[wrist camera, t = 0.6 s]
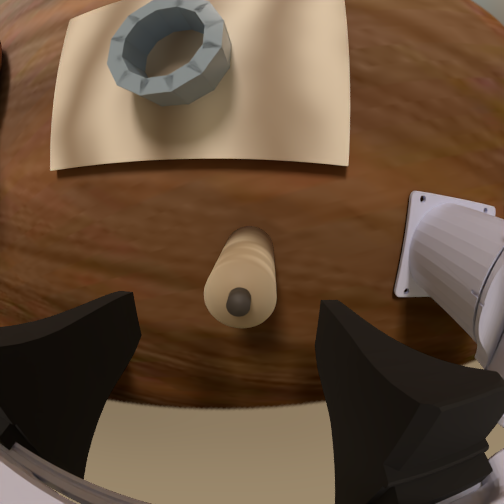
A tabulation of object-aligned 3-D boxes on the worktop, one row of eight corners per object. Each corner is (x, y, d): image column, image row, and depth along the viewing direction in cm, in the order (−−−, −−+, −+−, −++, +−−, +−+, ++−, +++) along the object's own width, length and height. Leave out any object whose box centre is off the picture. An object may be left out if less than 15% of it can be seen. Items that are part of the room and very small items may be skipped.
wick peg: (274, 227, 18) (279, 272, 11) (271, 272, 19) (274, 340, 12) (226, 225, 19) (198, 267, 11) (226, 270, 20) (201, 335, 12)
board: (340, -6, 13) (343, -11, 12) (344, 166, 17) (348, 166, 16) (74, 22, 14) (70, 19, 13) (56, 170, 18) (50, 170, 17)
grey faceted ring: (233, 15, 13) (226, -11, 10) (228, 103, 15) (219, 88, 12) (139, 27, 14) (118, 8, 10) (128, 110, 16) (101, 102, 12)
